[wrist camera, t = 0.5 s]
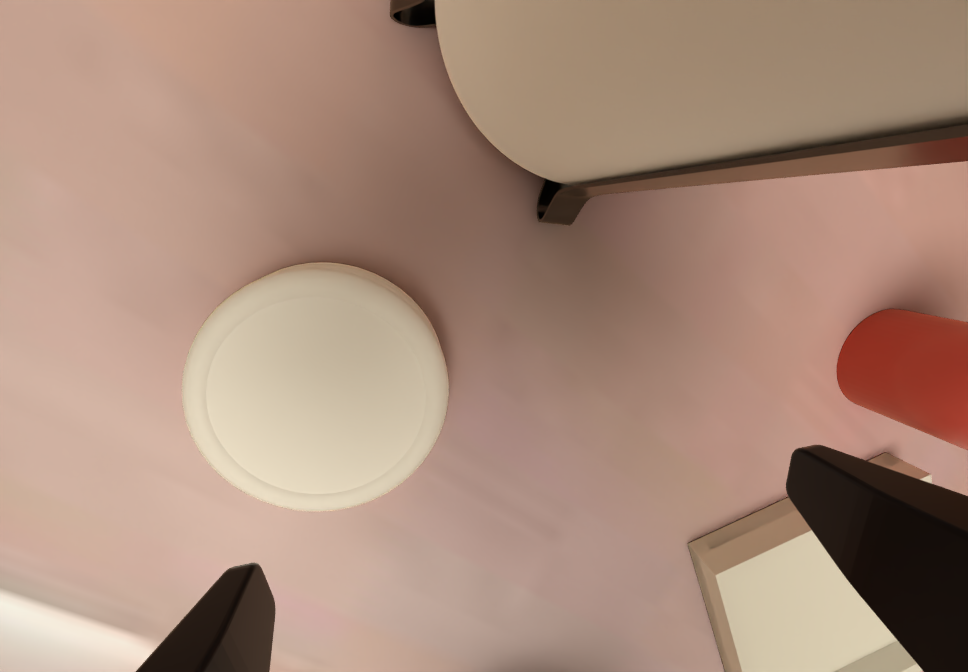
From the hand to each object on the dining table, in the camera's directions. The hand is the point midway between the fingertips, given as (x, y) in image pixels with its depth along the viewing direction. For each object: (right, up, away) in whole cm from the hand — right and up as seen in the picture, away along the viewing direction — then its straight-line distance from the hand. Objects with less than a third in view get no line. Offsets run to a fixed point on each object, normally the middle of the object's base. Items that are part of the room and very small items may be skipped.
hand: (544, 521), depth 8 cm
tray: (+19, -12, +22) cm, 32 cm away
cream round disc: (-8, +1, +14) cm, 16 cm away
